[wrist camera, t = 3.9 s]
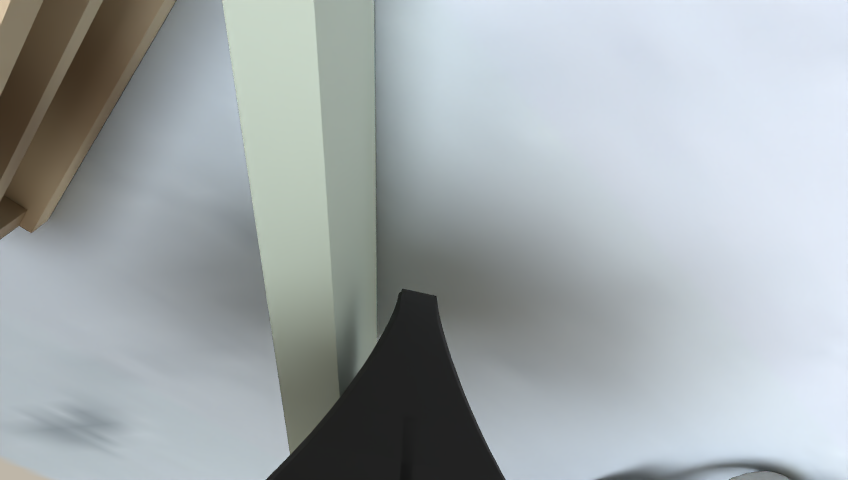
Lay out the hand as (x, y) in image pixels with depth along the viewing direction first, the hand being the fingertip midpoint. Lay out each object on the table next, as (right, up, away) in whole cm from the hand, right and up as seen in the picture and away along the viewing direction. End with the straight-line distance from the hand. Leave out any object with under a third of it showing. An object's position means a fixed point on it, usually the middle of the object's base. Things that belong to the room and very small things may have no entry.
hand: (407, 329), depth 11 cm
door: (-1, +3, +1) cm, 4 cm away
